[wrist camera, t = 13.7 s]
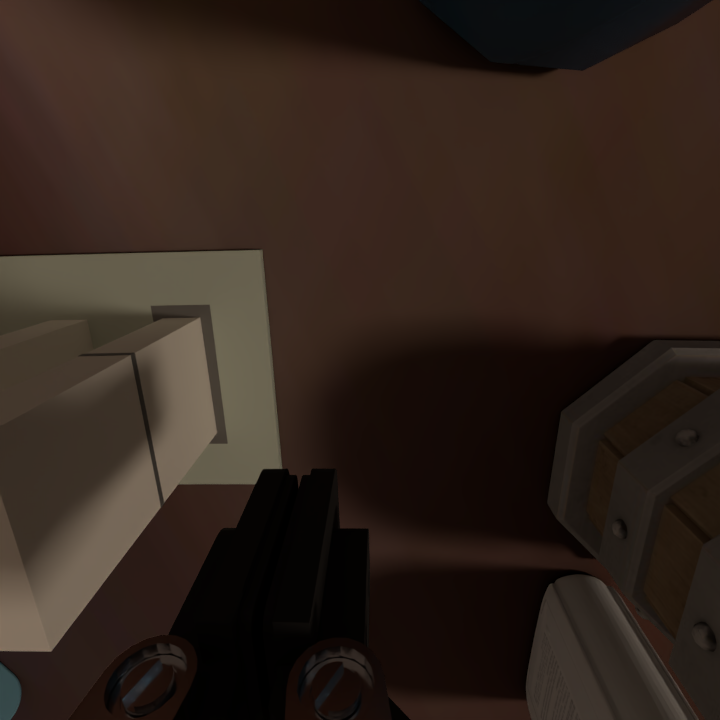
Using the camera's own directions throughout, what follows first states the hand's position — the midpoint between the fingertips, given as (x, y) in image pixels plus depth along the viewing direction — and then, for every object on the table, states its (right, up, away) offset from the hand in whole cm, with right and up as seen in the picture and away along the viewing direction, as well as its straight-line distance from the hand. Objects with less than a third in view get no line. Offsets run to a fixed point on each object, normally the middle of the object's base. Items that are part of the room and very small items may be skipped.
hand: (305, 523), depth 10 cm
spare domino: (-7, +3, +12) cm, 14 cm away
